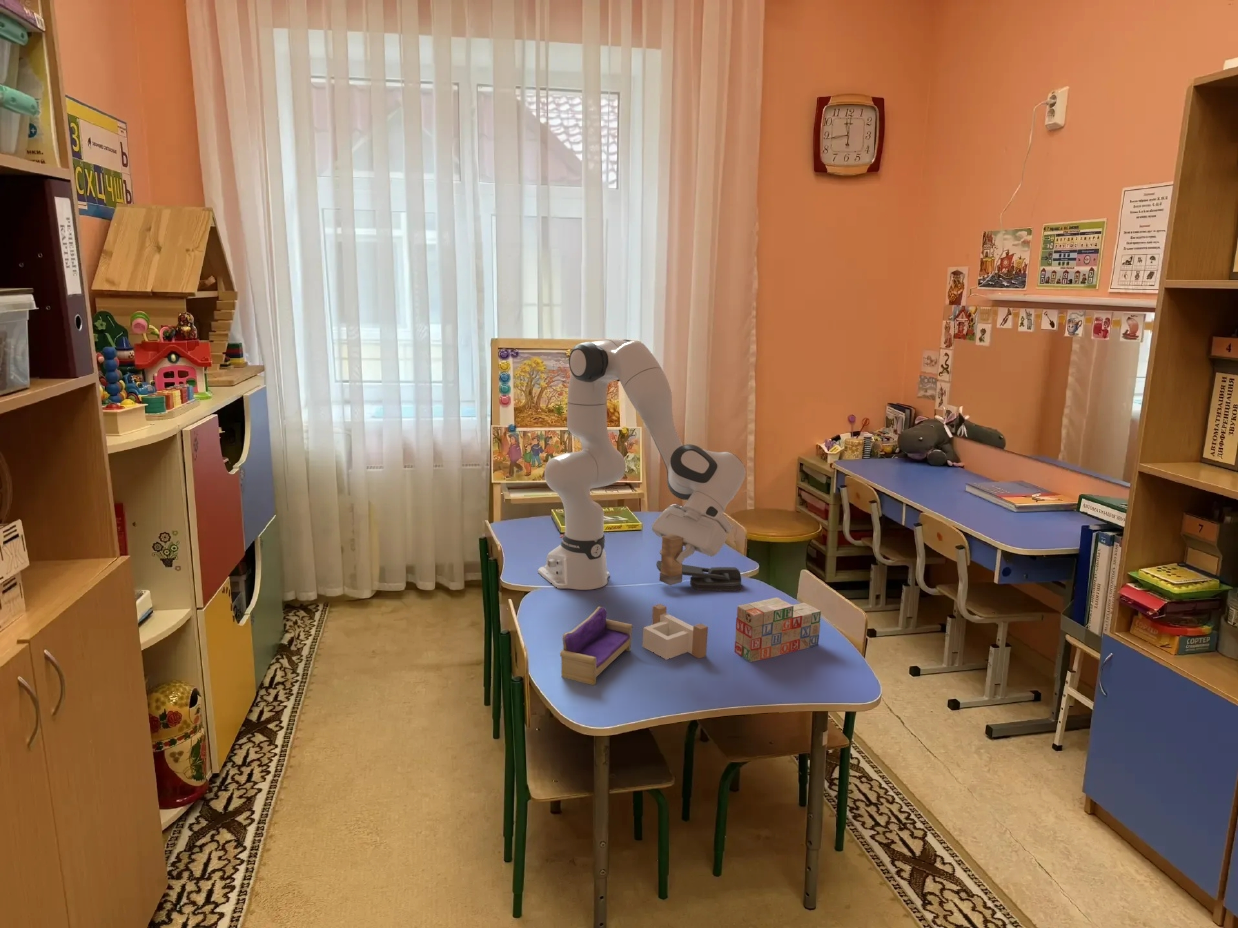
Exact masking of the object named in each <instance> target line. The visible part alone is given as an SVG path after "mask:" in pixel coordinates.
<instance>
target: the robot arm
mask: <svg viewBox="0 0 1238 928" xmlns="http://www.w3.org/2000/svg"><path fill="white" fill-rule="evenodd" d="M568 366H569V369H570V375H569V376H570V377H569V381H568V386H567V387H568V388H567V404H566V405H567V406H566V407H567V408H566V409H567V410H566V426H567V427H566V428H567V430H568V432H569V433H570V434H571V435H573V436H574V437H576V438H578V439H579V442H580V445H581V450H580V451H571V452H566V453H562V454H559V455H557V456H555V457H554V456H553V457H552V458H549V460H548V461H547V463H546V464H545V467H544V479H545V483H546V484H547V486H548V488H550V490H552V491H553V492H554V493H556V495H557V496H558V497H559V498H560V499H561V502H562V505H563V508H564V525H565V526H564V527H565V528H564V533H560V534H559V539H561V538H562V539H561V542H560V544H559V545H558V546H556V547H555V548H554V549H553V550H552V549H551V551H549V552H548V554H547V556H546V562H545V563H546V564H545V565H543V566H540V567H539V568H538V570H537V573H538V574H539V575H540V576H542V577H543V578H544V579H545V580H546V581H548V582H549V583H550V584H551V583H552V584H551V585H552V586H553V587H555V588H556V587H557V588H556V589H572V590H578V591H579V590H582V591H583V590H585V591H586V590H594V589H595V590H596V589H599V588H603V587H604V586H606V585H607V584H608V581H609V580H608V578H609V576H610V572H609V570H608V568H607V553H606V550H605V543H606V538H605V534H604V525H605V512H604V509H603V507H602V506H601V505H600V503H598V502H596V501H594V500H592V498H591V489H595V488H596V489H597V488H601V487H606V486H611V485H613V484H615V483H616V482H618V481H621V480H622V479H623V477H624V476H625V474H626V467H627V466H626V461H625V458H624V455H623V454H622V453H621V452H620V451H619V450H618V449H617V448H616V447H615V446H614V445H613V443H612V442H611V441H612V440H611V439H610V435H609V432H608V408H607V407H608V386H609V384H610V383H611V382H612V381H617V382H620V384H621V386H622V388H623V390H624V393H625V394H626V396H627V398H628V400H629V401H630V403H631V404H632V406H633V408H634V409H635V411H636V412H637V414H638V415H639V417H640V419H641V420H642V423H644V425H645V426H646V428H647V430H648V432H649V434H650V436H651V437H652V440H653V441H654V444H655V446H656V448H657V450H658V453H659V455H660V456H661V459H662V460H663V463H664V465H665V468H666V475H667V476H666V483H667V487H668V490H669V491H670V493H671V494H672V495H673V496H675V497H676V498H678V499H681V500H684V501H685V504H684V505H681V504H678V503H674V504H671V505H668V506H667V507H666V508H665V509H664V510H663V511H661V513H660V514H659V515H658V517H657V518H656V519H655V520H654V522H652V525H651V530H652V532H653V533H654V534H655V535H656V536H657V537H660V538H662V537H663V536H667V535H671V534H674V535H677V536H680V537H683V547H684V549H683V551H682V552H681V553H677V554H676V556H675V557H674V560H675V561H676V562H678V563H680V564H681V563H682V564H683V562H684V561H685V559H687V558H688V557H690V556H693V554H694V553H695V551H696V552H699V553H701V554H703V555H706V556H708V557H714V556H716V555H717V554H719V552H720V551H721V549H722V548H723V546H724V545H725V543H726V541H727V538H728V534H730V533H731V532H732V530H733V529H734V528H733V527H734V526H733V525H732V524H731V522H730V521H729V519H728V518H727V517H726V516H725V515H724V512H725V511H726V508H727V506H728V504H729V503H730V502H731V501H732V500H733V499H734V498H735V496H736V495H737V493H738V492H739V491H740V488H741V487H742V485H743V482H745V479H746V474H747V473H746V472H747V470H746V468H745V465H744V463H743V461H742V460H741V459H740V458H739V457H738V456H737V455H736V454H733V453H732V452H729V451H721V452H720V451H719V452H718V451H711V450H707V449H704V448H701V447H700V446H698V445H695V444H683V443H682V440H681V438H680V436H679V434H678V431H677V429H676V426H675V423H674V415H673V395H672V390H671V387H670V382H669V381H668V378H667V376H666V374H665V372H664V370H663V368H662V367H661V365H660V363H659V362H658V360H657V358H656V357H655V356H654V354H653V353H652V352H651V351H650V349H649V348H648V347H647V346H646V345H645V344H644V343H643V342H642V341H638V340H631V339H607V338H606V339H601V340H595V341H594V340H593V341H584V342H581V343H580V342H579V343H578V344H576V345H575V346H574V347H572V349H571V351H570V353H569V358H568ZM659 554H660V556H661V555H662V548H661V549H660V551H659Z"/></svg>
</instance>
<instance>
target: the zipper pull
mask: <svg viewBox="0 0 1238 928" xmlns="http://www.w3.org/2000/svg"><path fill="white" fill-rule="evenodd" d="M656 569H658V571H659V573H661V560H657V561H656ZM682 576H689V577H690V579H689V580H690V582H689V586H690V587H691V588H693V589H695V590H698V591H719V590H721V591H720V592H723V591H725V592H726V591H727V592H734V590H735V591H740V590H741V586H742V576H741V572H740V570H739V569H738V568H737V567H736V566H735V567H733V566H717V567H713V566H712V567H710V568H709V567H701V566H694V565H687V564H683V563H682ZM739 589H740V590H739Z"/></svg>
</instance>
